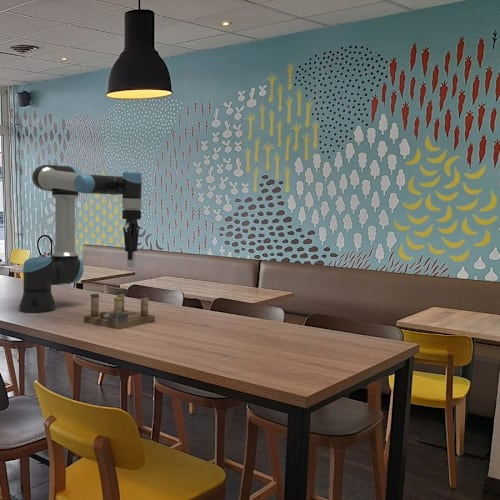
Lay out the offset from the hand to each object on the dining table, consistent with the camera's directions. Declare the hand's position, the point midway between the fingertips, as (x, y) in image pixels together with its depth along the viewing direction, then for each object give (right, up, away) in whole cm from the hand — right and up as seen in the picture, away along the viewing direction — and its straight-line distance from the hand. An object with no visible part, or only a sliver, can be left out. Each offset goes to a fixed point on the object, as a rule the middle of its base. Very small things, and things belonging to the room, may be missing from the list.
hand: (131, 267), depth 235 cm
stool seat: (-5, -22, +1) cm, 23 cm away
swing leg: (-7, -20, -7) cm, 22 cm away
